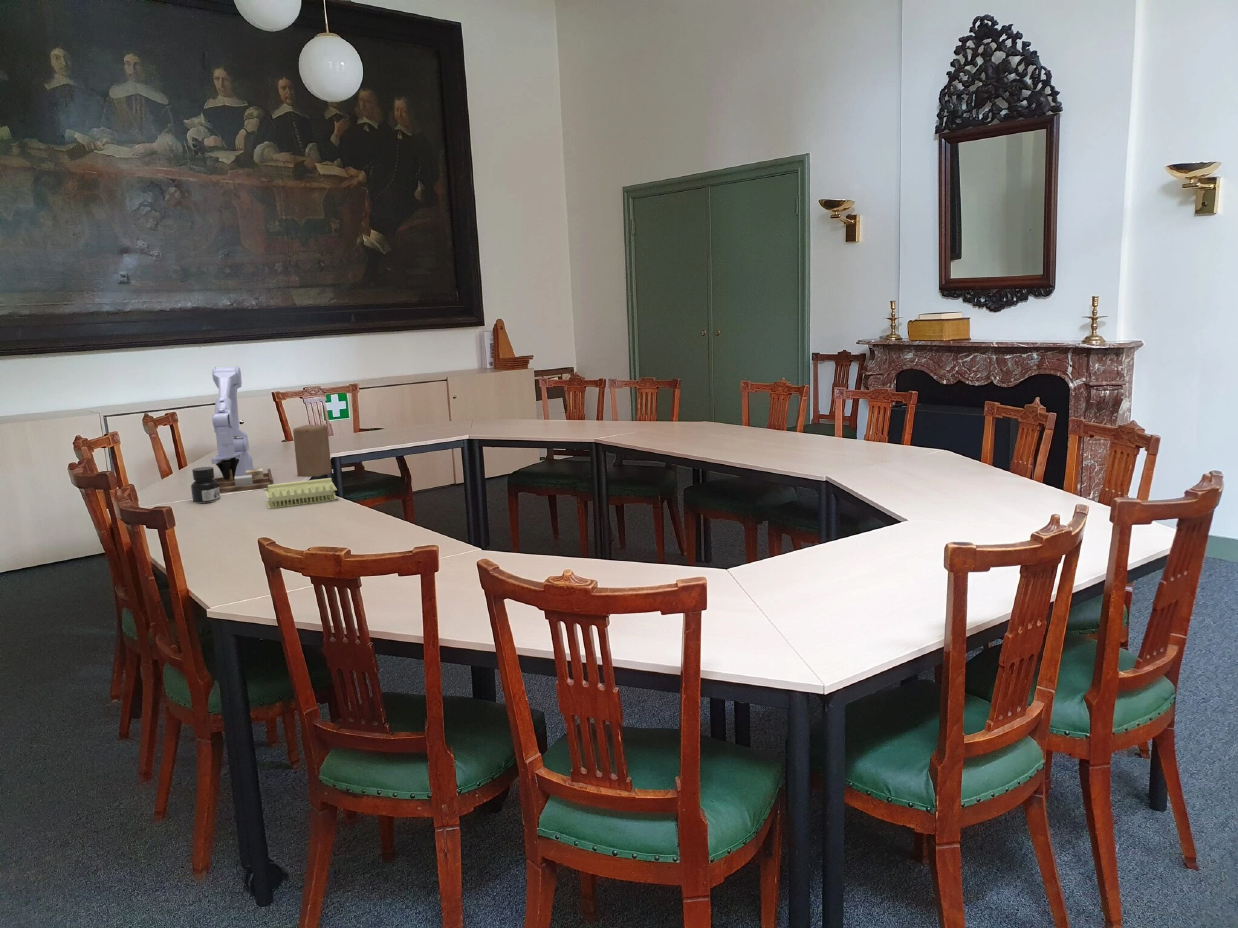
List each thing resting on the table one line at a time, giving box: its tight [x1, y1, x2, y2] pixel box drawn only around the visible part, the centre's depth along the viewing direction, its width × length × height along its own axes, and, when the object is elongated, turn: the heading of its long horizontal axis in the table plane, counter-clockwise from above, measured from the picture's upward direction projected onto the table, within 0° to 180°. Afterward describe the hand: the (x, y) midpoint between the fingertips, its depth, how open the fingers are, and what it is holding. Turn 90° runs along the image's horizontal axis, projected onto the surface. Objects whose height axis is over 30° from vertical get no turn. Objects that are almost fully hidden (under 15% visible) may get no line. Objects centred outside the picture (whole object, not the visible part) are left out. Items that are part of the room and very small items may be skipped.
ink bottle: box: [190, 466, 221, 505], centre depth 309 cm, size 10×9×12 cm
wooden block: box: [292, 424, 332, 477], centre depth 348 cm, size 10×10×20 cm
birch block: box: [227, 468, 264, 482], centre depth 338 cm, size 13×5×5 cm, turn 113°
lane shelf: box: [213, 468, 274, 494], centre depth 333 cm, size 24×24×4 cm
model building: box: [264, 477, 338, 509], centre depth 307 cm, size 25×14×7 cm, turn 116°
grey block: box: [234, 474, 253, 487], centre depth 328 cm, size 6×5×4 cm
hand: (229, 478), depth 336 cm, fingers closed on birch block, 2 cm apart
